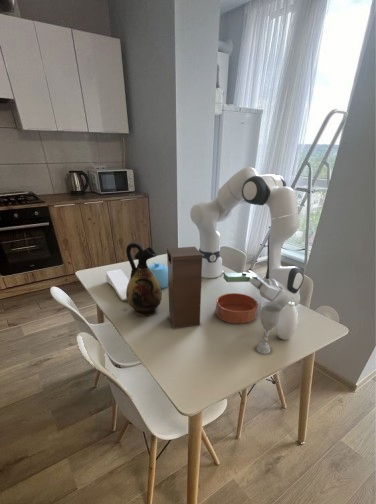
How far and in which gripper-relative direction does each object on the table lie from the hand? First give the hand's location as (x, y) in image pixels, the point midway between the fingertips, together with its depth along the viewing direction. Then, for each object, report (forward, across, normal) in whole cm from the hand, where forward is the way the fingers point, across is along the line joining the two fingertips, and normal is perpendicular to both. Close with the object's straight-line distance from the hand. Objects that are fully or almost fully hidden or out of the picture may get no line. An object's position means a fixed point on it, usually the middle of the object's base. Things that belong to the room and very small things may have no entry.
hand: (246, 276), depth 118 cm
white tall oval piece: (-16, +22, +11) cm, 29 cm away
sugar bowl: (+18, -40, +31) cm, 54 cm away
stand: (+14, 0, +28) cm, 32 cm away
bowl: (-6, 0, +16) cm, 18 cm away
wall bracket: (+34, -37, +40) cm, 65 cm away
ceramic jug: (+27, -13, +36) cm, 47 cm away
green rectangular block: (+2, 0, +2) cm, 3 cm away
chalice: (-7, +27, +17) cm, 33 cm away
